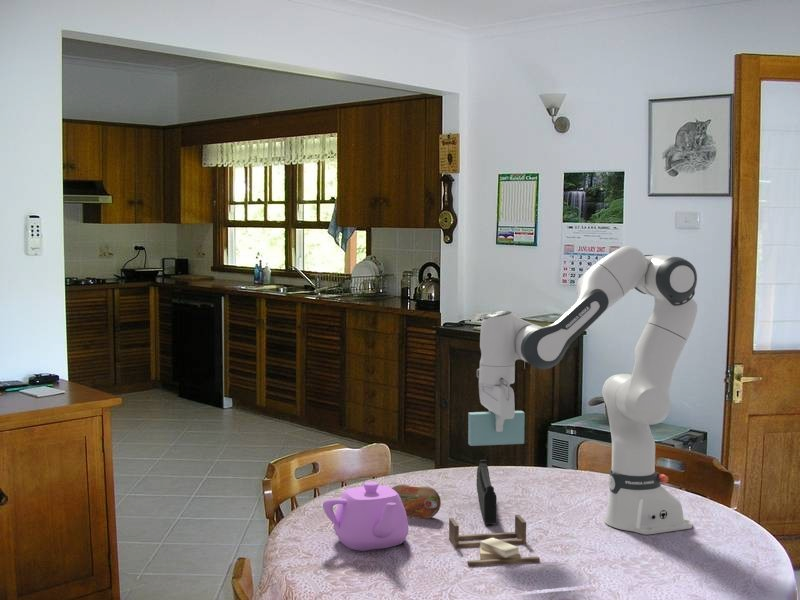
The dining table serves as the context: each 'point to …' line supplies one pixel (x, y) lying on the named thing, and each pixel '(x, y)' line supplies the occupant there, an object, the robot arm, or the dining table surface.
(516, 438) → the board
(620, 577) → the dining table surface
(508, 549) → the offcut top
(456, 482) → the dining table surface
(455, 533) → the rack
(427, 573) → the dining table surface
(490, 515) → the magazine
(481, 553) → the offcut middle
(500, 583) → the dining table surface
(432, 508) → the tin
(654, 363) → the robot arm
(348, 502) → the teapot
